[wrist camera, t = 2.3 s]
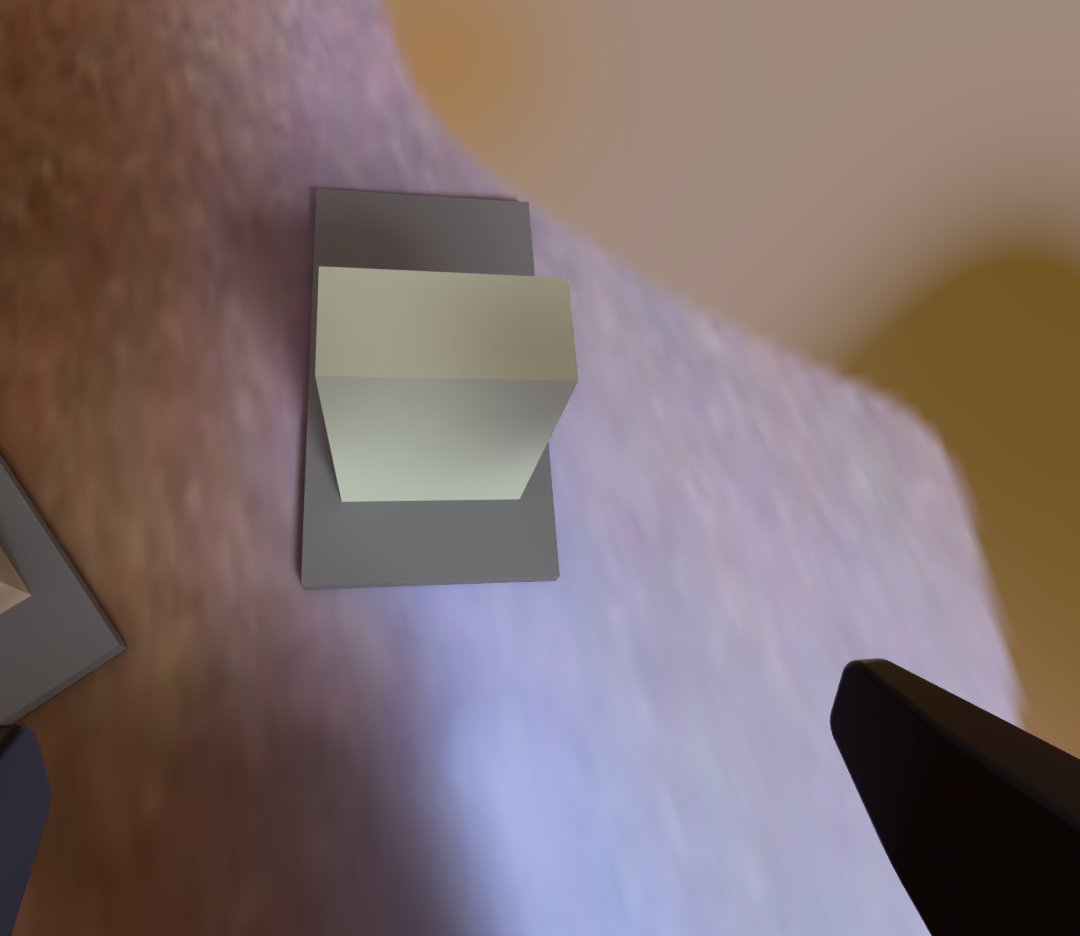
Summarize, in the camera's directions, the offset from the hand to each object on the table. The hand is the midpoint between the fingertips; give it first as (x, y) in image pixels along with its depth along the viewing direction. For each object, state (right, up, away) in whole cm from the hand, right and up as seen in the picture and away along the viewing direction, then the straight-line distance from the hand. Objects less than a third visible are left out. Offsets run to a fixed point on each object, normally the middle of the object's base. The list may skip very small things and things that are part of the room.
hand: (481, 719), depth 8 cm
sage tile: (-3, +3, +14) cm, 14 cm away
